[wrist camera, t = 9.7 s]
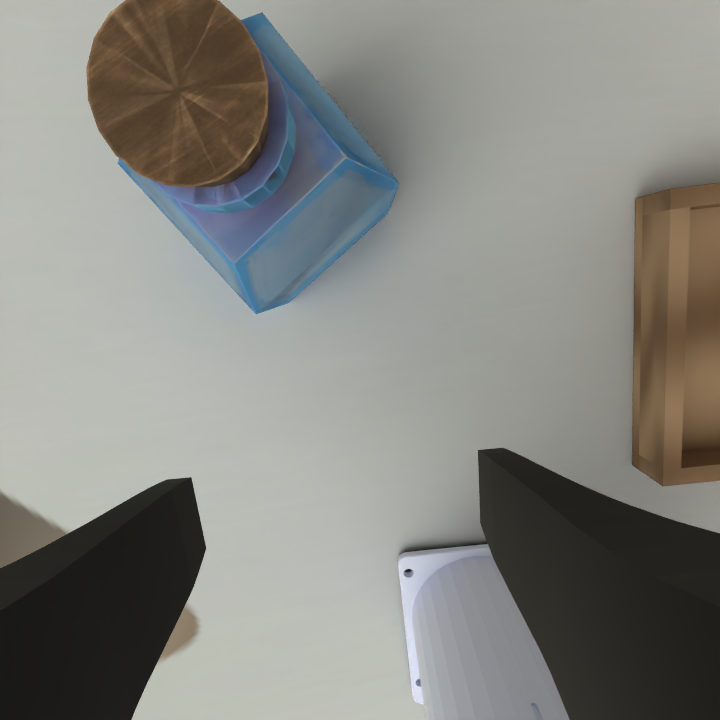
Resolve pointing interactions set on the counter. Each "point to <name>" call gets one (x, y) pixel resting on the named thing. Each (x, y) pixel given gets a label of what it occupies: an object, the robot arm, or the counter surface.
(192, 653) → the counter surface
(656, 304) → the walnut tray
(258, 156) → the perfume bottle
